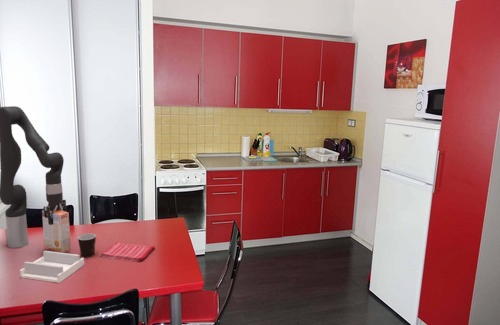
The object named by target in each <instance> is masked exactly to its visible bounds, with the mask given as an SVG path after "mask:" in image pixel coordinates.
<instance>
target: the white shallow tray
mask: <svg viewBox="0 0 500 325" xmlns="http://www.w3.org/2000/svg"><path fill="white" fill-rule="evenodd" d="M42 253H43V255H42V256H41V257H39V258H38V259H36V260H34V261H33V262H32V261H24V262H23V265H24V267H23V268H21V269H19V277H20V278H21V279H29V280H30V279H31V280H35V281H36V280H37V281H41V282H42V281H44V282H52V283H58V284H60V283H62V282H63V281H64V280H65V279H67V278H68V277H70V276H71V275H72V274H73V273H75V272H77V271H78V270H79V269H81V268H82V267H83V266H85V257H81V254H76V253H67V252H63V253H60V252H56V251H53V250H43V252H42Z"/></svg>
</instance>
